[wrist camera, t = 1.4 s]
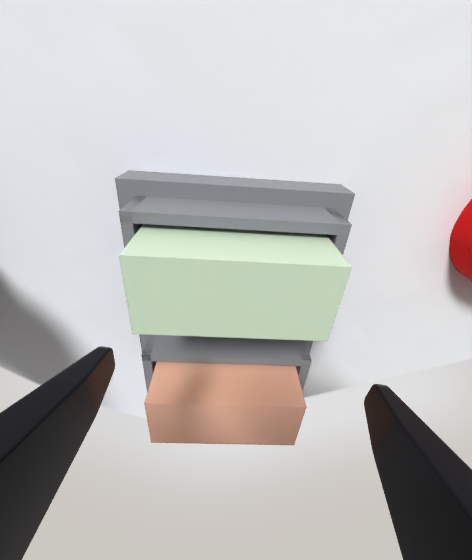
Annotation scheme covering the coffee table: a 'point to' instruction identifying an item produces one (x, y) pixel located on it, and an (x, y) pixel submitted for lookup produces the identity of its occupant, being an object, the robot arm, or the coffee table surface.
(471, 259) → the decorative ornament
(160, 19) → the coffee table surface
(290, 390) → the orange brown block
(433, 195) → the coffee table surface
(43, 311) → the coffee table surface
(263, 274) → the sage button
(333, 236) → the button panel
